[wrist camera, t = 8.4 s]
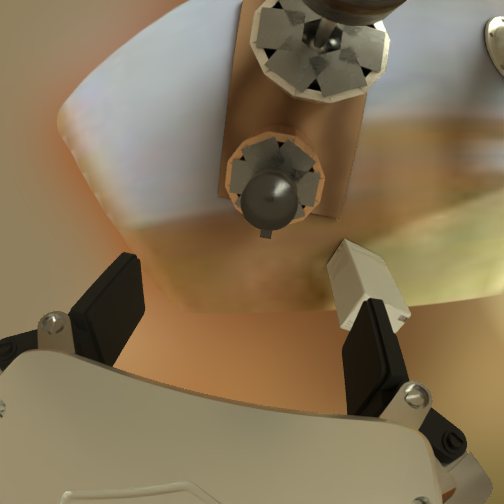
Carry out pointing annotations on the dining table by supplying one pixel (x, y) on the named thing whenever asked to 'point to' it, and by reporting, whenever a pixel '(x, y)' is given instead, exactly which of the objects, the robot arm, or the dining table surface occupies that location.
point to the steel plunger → (342, 20)
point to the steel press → (316, 54)
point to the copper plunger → (270, 198)
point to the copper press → (285, 157)
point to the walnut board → (289, 119)
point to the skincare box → (363, 285)
